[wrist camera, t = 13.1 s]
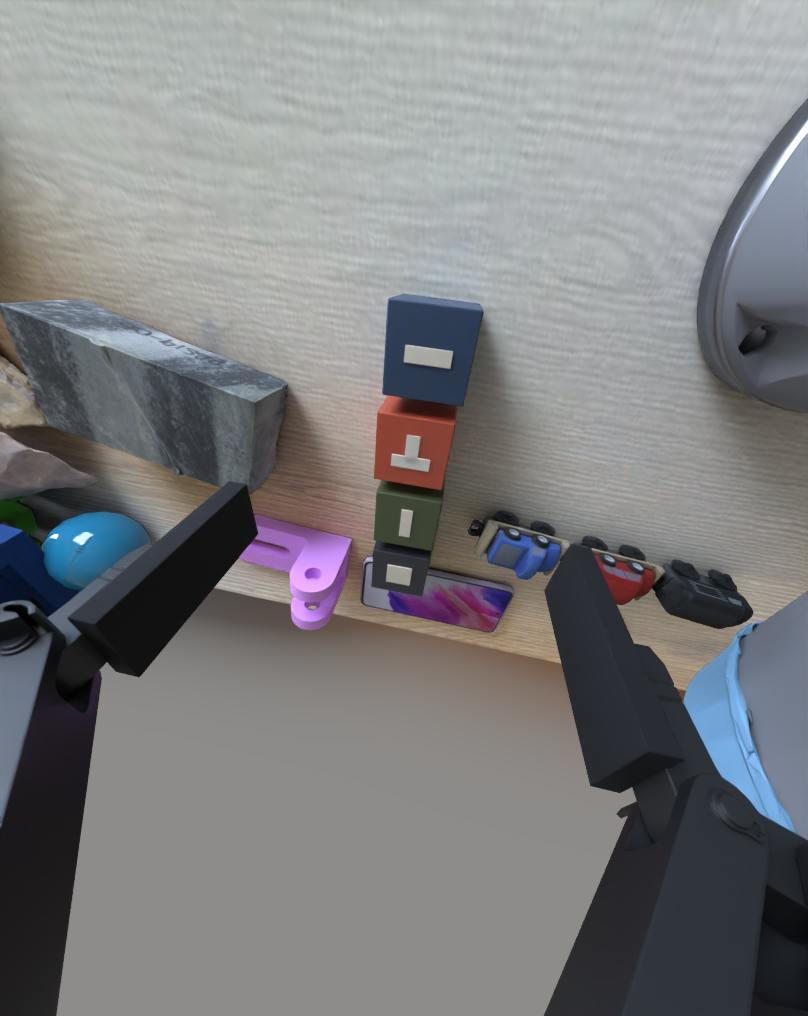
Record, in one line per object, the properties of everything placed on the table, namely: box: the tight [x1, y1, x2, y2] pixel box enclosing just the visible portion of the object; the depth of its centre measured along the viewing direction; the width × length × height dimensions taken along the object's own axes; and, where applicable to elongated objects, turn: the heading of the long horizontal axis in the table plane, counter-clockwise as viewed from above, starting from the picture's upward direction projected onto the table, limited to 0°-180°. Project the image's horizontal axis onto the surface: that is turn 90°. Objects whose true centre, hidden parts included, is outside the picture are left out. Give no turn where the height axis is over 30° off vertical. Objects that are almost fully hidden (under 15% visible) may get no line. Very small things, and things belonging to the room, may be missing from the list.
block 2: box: [374, 472, 446, 551], centre depth 24 cm, size 4×4×5 cm
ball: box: [41, 511, 152, 591], centre depth 31 cm, size 8×8×8 cm
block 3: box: [371, 541, 431, 597], centre depth 28 cm, size 4×4×5 cm
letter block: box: [374, 396, 457, 490], centre depth 21 cm, size 4×4×5 cm
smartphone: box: [360, 557, 514, 633], centre depth 33 cm, size 7×1×15 cm
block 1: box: [383, 294, 483, 406], centre depth 18 cm, size 4×4×5 cm
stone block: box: [0, 299, 288, 495], centre depth 22 cm, size 9×14×5 cm, turn 70°
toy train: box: [468, 511, 753, 629], centre depth 25 cm, size 4×22×5 cm, turn 77°
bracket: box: [239, 514, 352, 630], centre depth 30 cm, size 13×6×7 cm, turn 79°
